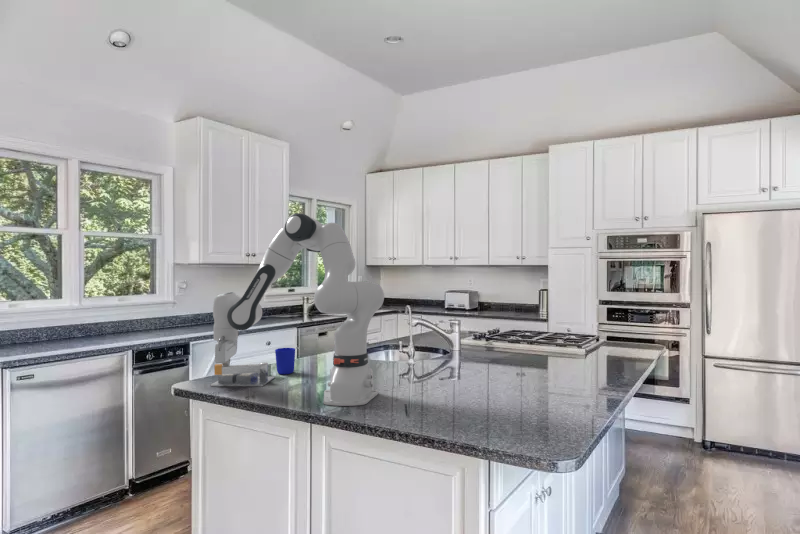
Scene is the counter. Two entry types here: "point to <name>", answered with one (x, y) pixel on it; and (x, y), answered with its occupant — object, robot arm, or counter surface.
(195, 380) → the counter surface
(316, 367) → the counter surface
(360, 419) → the counter surface
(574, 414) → the counter surface
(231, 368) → the swing arm
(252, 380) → the chassis plate
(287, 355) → the mug
